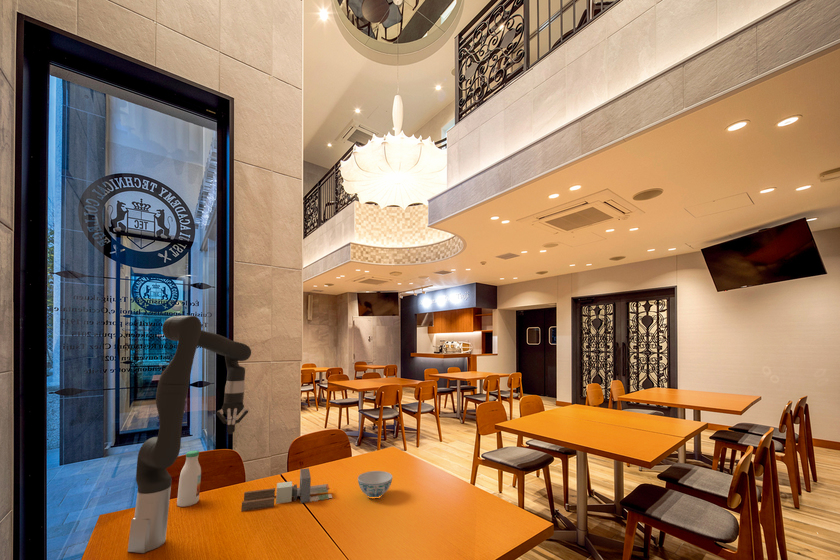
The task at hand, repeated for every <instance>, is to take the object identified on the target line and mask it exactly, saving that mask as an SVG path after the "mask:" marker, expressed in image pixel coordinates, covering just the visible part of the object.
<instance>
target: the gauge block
mask: <svg viewBox="0 0 840 560" xmlns="http://www.w3.org/2000/svg"><path fill="white" fill-rule="evenodd" d="M275 496H276V497H275V504H277V505H279V504H284V503H290V502H292V498H293V497H294V485H293V481H292V480H291V481H284V482H277V483H276V492H275Z"/></svg>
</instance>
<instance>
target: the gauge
mask: <svg viewBox="0 0 840 560" xmlns="http://www.w3.org/2000/svg"><path fill="white" fill-rule="evenodd" d="M299 472H300V474H299V488H300V487H301V493H300V496H299V497H300V498H299V501H300V502H301V503H300V502H299V503H300V504H306V502H307V503H312V501H314V502H319V501H318V500H321V501H325V500H324V499H328V500H330V499H329V498H332V499H333V496H332V493H329V494H326V493H324V494H320V495H319V494H318V495H314V496H311V494H310V486H312V484H311V480H312V477H311V473H310V468H309V467H308V468H306V467H305V468H300V471H299ZM275 496H276V488H274V487H273V488H265V489H264V488H263V489H257V490H250V491H244V493H243V501H241V511H240V512H247V511H253V510H254V511H255V510H261V509H266V508H274V507H275V500H276V497H275Z"/></svg>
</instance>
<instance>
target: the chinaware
mask: <svg viewBox="0 0 840 560" xmlns="http://www.w3.org/2000/svg"><path fill="white" fill-rule="evenodd" d="M392 480H393V475H392V474H391V472H388V471H382V470H372V471H367V472H363V473H360V474H359V475H358V476H357V484H358V486H359V488H360V490H361V491H362V493H363V494H365V495H366V497H367V496H369V497H379V496H381V495H383V496H384V494H385V493H387V491H388V490H389V489H390V487H391V485H392Z"/></svg>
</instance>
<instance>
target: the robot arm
mask: <svg viewBox="0 0 840 560" xmlns="http://www.w3.org/2000/svg"><path fill="white" fill-rule="evenodd" d="M161 330H162V334H163V335H164V337H165V338H166V339H168V340H170V341H173V342H174V341H175V342H177V347H176V350H175V354H174V356H173V358H172V359H171V361H170V362H169V363H168V365H167V366H166V367H165V368H164V370H163V371H162V373H161V375H160V377H159V379H158V383H157V388H156V392H155V405H156V411H157V414H158V419H159V426H158V428H159V429H158V433H157V436H153V437H150V438H148V439H146V440H145V441H144V442H143V443H142V445H141V447H140V448H139V451H138V454H137V458H136V475H135V480H136V485H137V494H136V501H135V510H134V517H133V518H132V519H131V520H130V529H129V537H128V545H127V547H128V548H127V552H129V553H138V554H145V553H147V552H149V551H152V550H155V549H158V548H160V547H162V546H163V545H164V544H165V543H166V538H167V529H168V527H167V526H168V518H169V509H170V499H171V491H172V489H171V488H172V482H173V481H172V480H173V479H172V476H171V474H170V473H169V472H168V470H167V468H169V467H171V466H172V465H173V464H174V463H176V460H177V459H178V457H179V455H180V452H181V444H182V443H181V442H182V429H183V427H182V426H183V418H184V414H185V408H186V407H185V406H186V402H187V401H186V400H187V396H188V391H189V387H190V379H191V373H192V368H193V364H194V359H195V354H196V351H197V348H198V347H200V348H203V349H205V350H208V351H211V352H212V353H215V354H217V355H220V356H222V357H223V356H224V359H225V366H226V370H227V375H226V383H225V386H224V397H223V405H222V406H221V409H219V410H217V411H216V413H215V414H216V416H217V417H218V418H219V420H220V421H221V422H222V424H224V425H227V428H226V433H227V434H228V435H233V434H234V433H235V431H236V424H239V423H240V422H241V421H242V420H243V419H244V418H245V416H246V415H247V414H248V413H249V412H250V411H249V409H247V408H245V405H244V398H245V390H246V389H245V386H246V385H245V379H246V378H245V377H246V368H245V367H244V366H240V365H239V362H245V361H247V360H249V359H250V357H251V356H252V350H251V348H250V346H248V345H247V344H245V343H242V342H238V341H235V340H231V339H230V338H228V337H226V336H223V335H221V334H217V333H214V332H211V331H210V332H209V331H206V330H202V322H201V319H200V318H199V317H198V316H196V315H195V316H194V315H174V316H171V317H169V318H166V320H165V321H164V322H163V324H162V329H161ZM224 414H225V416H227V417H225V416H224ZM239 414H241V415H240V416H239ZM238 416H239V418H238ZM226 418H227V419H226ZM237 418H238V419H237Z"/></svg>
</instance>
